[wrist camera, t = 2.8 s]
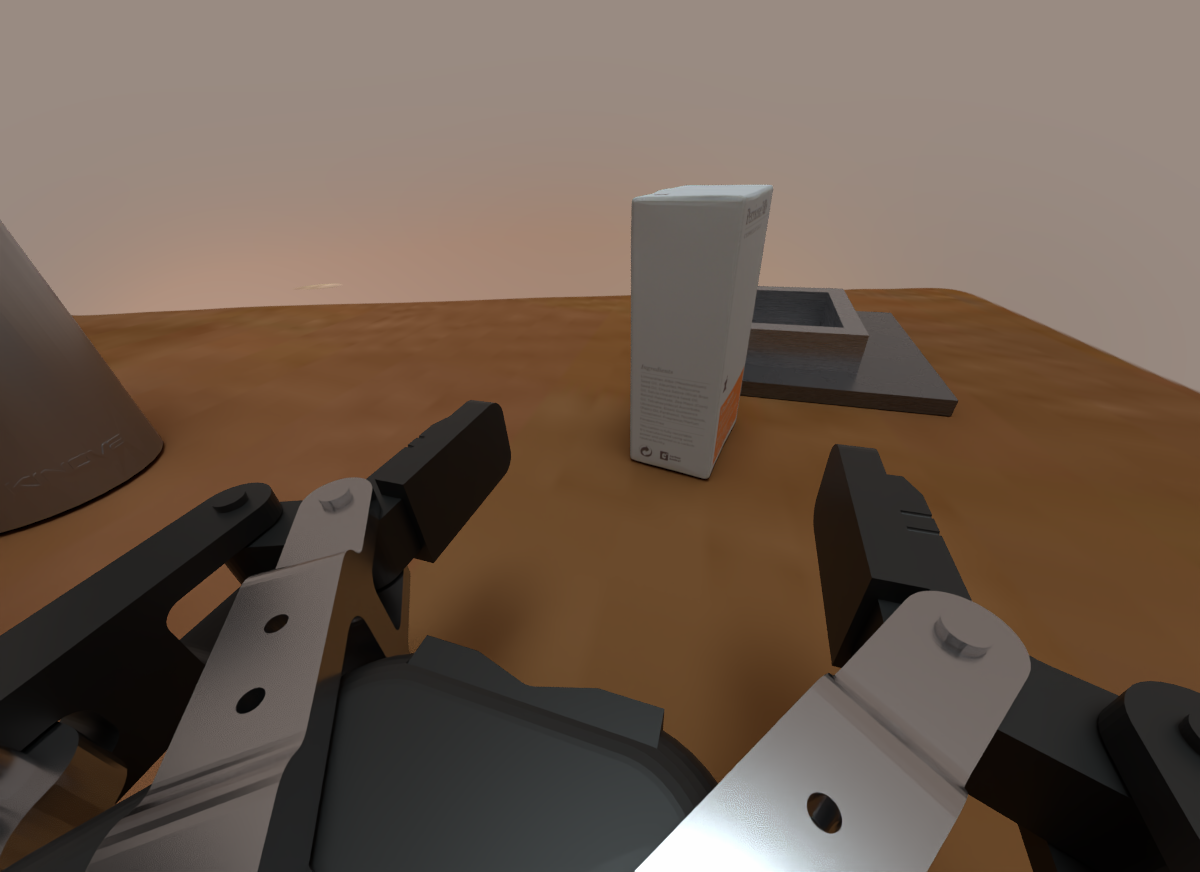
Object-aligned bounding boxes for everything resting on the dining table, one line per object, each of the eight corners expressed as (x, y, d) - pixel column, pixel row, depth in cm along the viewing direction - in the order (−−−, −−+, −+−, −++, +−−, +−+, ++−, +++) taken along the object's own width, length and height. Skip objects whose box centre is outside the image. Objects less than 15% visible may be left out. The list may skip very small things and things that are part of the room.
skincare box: (710, 483, 20) (747, 194, 14) (628, 461, 22) (625, 196, 15) (738, 422, 25) (776, 182, 18) (668, 408, 26) (680, 184, 20)
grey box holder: (640, 385, 29) (641, 335, 27) (678, 313, 42) (680, 276, 40) (950, 416, 24) (978, 358, 22) (886, 324, 37) (900, 282, 35)
